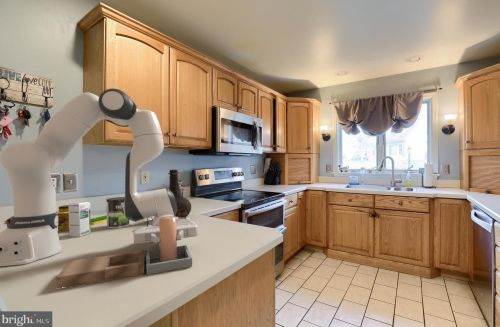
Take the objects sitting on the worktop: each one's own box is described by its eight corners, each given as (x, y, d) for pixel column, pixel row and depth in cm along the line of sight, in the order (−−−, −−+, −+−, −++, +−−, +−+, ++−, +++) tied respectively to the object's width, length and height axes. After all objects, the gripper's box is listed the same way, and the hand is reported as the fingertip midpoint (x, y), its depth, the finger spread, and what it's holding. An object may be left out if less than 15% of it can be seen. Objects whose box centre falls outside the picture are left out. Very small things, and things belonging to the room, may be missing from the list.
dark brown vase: (195, 215, 144) (194, 168, 144) (184, 223, 126) (183, 169, 126) (167, 215, 146) (166, 169, 146) (152, 222, 128) (151, 170, 128)
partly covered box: (56, 289, 60) (56, 277, 60) (69, 271, 70) (69, 261, 70) (144, 273, 68) (143, 263, 68) (144, 259, 78) (144, 250, 78)
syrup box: (80, 237, 104) (79, 203, 104) (68, 236, 105) (68, 203, 105) (91, 233, 110) (90, 201, 110) (80, 232, 111) (79, 201, 111)
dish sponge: (84, 224, 128) (84, 220, 128) (108, 218, 141) (108, 214, 141) (93, 225, 125) (93, 221, 125) (117, 219, 138) (116, 215, 138)
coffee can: (133, 224, 124) (133, 197, 124) (113, 229, 115) (113, 200, 115) (122, 222, 129) (122, 196, 129) (102, 227, 120) (102, 199, 120)
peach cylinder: (160, 266, 72) (159, 220, 72) (159, 260, 77) (159, 217, 77) (177, 263, 74) (177, 218, 74) (176, 258, 79) (175, 215, 79)
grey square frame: (146, 274, 67) (146, 265, 67) (147, 258, 79) (146, 250, 79) (192, 266, 72) (192, 258, 72) (186, 252, 84) (186, 245, 84)
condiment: (54, 233, 110) (54, 207, 110) (60, 229, 118) (60, 204, 118) (73, 231, 113) (73, 206, 113) (78, 227, 121) (78, 203, 121)
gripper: (133, 222, 83) (131, 233, 71) (193, 216, 91) (200, 225, 79) (134, 241, 83) (131, 254, 71) (193, 233, 91) (200, 244, 79)
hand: (168, 239), depth 75 cm, fingers closed on peach cylinder, 5 cm apart
